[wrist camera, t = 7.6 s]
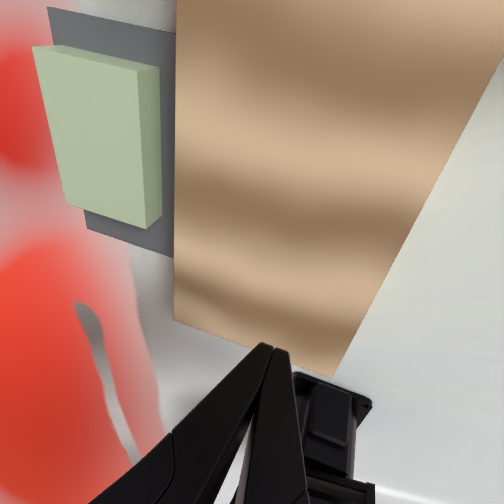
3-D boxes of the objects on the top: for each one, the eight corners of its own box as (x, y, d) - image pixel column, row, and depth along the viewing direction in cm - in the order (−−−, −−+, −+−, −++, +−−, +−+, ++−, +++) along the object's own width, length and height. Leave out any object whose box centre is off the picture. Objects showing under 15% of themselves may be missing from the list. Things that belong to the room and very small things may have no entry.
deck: (338, 332, 24) (331, 378, 21) (198, 283, 25) (173, 319, 22) (510, -28, 12) (557, -47, 9) (224, -72, 13) (177, -101, 10)
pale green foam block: (66, 203, 22) (87, 191, 23) (146, 229, 21) (162, 215, 22) (31, 46, 16) (62, 44, 18) (136, 71, 16) (159, 67, 17)
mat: (194, 261, 24) (192, 264, 24) (89, 226, 26) (87, 228, 26) (206, 40, 16) (204, 41, 16) (51, 7, 17) (46, 6, 17)
